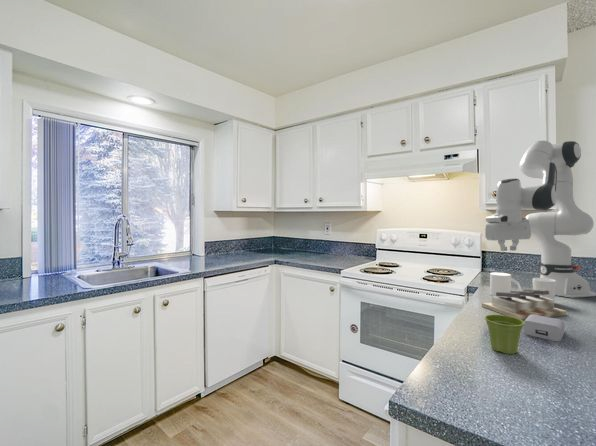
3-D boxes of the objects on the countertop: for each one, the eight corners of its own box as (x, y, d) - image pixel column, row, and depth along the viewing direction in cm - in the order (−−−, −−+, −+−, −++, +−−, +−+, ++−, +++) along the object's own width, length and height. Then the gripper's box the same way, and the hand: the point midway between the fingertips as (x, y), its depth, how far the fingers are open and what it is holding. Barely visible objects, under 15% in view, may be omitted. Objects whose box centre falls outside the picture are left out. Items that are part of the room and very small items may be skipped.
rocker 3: (529, 292, 128) (528, 289, 128) (549, 294, 120) (548, 290, 120) (523, 293, 127) (523, 289, 127) (543, 294, 119) (542, 290, 119)
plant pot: (477, 342, 92) (477, 314, 92) (509, 342, 92) (510, 314, 92) (497, 357, 83) (497, 325, 83) (532, 357, 82) (533, 325, 82)
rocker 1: (502, 295, 124) (501, 291, 124) (520, 296, 116) (520, 292, 117) (496, 295, 123) (495, 292, 124) (514, 297, 116) (513, 293, 116)
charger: (566, 329, 102) (561, 342, 92) (532, 322, 109) (523, 334, 99) (566, 315, 102) (561, 327, 92) (532, 309, 109) (523, 319, 98)
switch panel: (523, 302, 133) (523, 289, 133) (566, 314, 116) (566, 299, 116) (481, 306, 127) (481, 293, 127) (520, 320, 111) (520, 304, 111)
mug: (491, 271, 149) (521, 274, 142) (491, 292, 150) (521, 296, 142) (489, 274, 143) (520, 277, 135) (489, 296, 143) (520, 300, 136)
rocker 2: (516, 294, 126) (515, 290, 126) (535, 295, 118) (534, 291, 118) (510, 294, 125) (509, 290, 125) (529, 296, 117) (528, 292, 118)
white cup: (560, 305, 128) (560, 281, 128) (538, 304, 129) (538, 281, 129) (548, 300, 136) (548, 277, 135) (528, 299, 137) (528, 277, 137)
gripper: (521, 217, 133) (521, 248, 134) (482, 217, 128) (482, 250, 129) (535, 217, 127) (535, 250, 128) (495, 218, 122) (495, 252, 123)
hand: (508, 250), depth 128 cm, fingers open, 3 cm apart
